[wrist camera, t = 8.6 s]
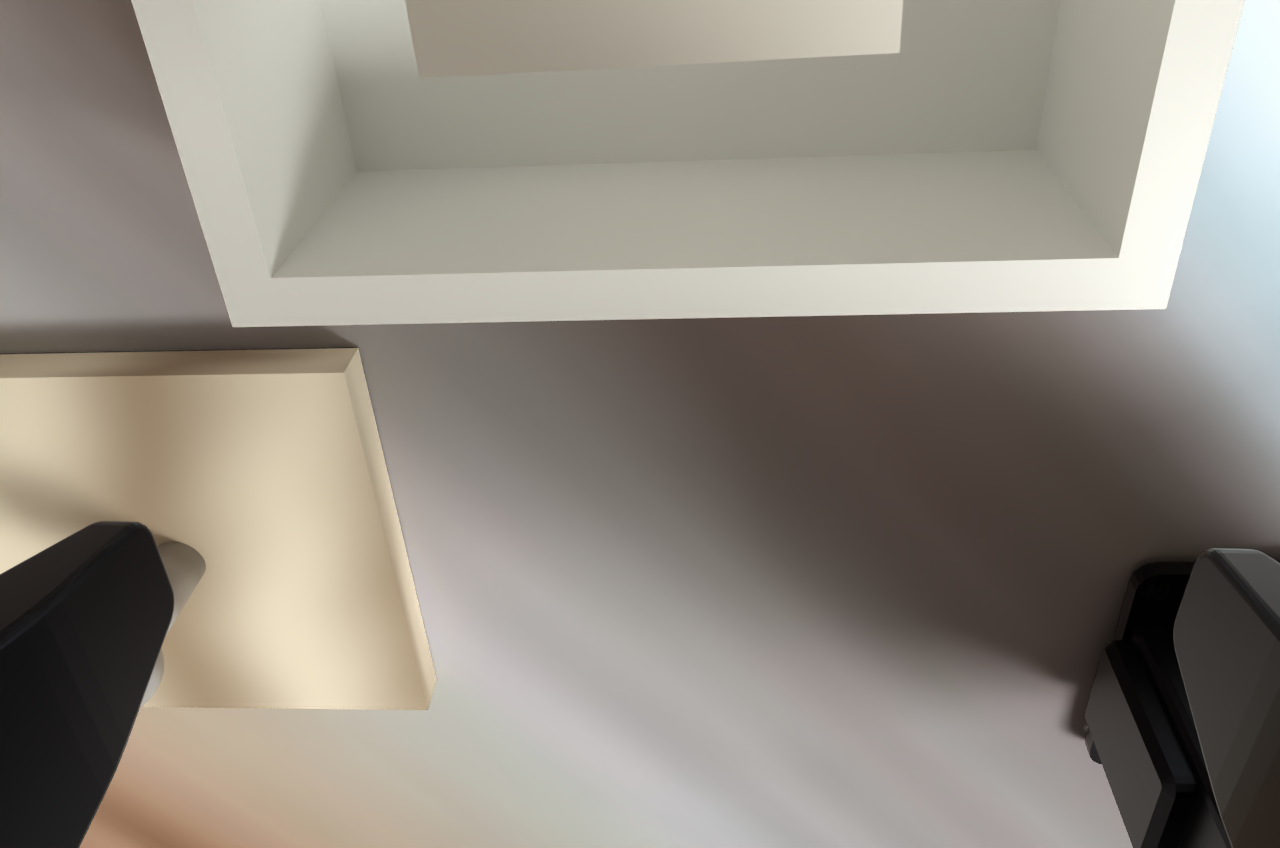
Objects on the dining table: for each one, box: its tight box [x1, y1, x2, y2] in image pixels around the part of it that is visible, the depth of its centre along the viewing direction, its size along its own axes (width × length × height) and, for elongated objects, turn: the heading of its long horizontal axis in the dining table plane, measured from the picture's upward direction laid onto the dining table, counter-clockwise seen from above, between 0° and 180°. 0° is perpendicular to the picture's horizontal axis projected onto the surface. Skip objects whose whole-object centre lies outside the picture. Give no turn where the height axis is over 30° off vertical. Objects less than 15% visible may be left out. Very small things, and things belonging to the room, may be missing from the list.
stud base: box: [0, 348, 437, 710], centre depth 23 cm, size 10×10×5 cm
